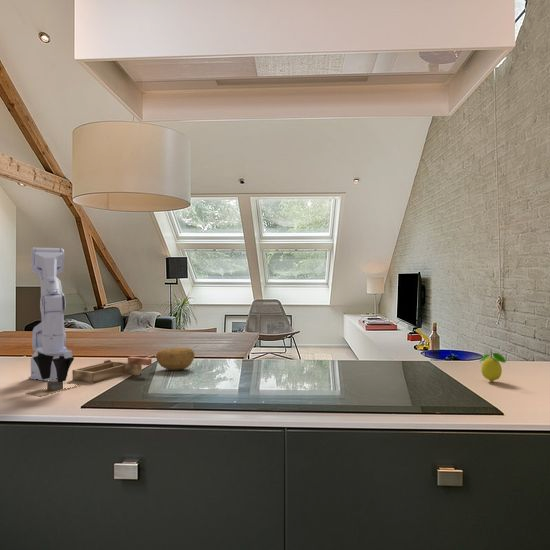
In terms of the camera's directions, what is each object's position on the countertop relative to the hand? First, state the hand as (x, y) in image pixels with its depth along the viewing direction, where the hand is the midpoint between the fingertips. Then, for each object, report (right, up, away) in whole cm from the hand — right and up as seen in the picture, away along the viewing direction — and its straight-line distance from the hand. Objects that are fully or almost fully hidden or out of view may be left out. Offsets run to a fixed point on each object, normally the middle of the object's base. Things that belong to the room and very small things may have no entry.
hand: (53, 380), depth 124 cm
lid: (0, -4, 0) cm, 4 cm away
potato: (+31, -3, +24) cm, 39 cm away
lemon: (+133, -2, +2) cm, 133 cm away
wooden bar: (+20, +1, +17) cm, 27 cm away
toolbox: (+10, -3, +15) cm, 19 cm away
